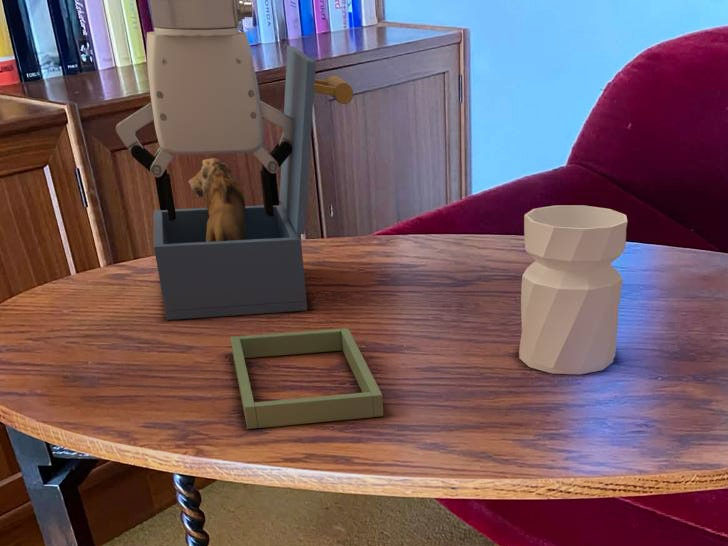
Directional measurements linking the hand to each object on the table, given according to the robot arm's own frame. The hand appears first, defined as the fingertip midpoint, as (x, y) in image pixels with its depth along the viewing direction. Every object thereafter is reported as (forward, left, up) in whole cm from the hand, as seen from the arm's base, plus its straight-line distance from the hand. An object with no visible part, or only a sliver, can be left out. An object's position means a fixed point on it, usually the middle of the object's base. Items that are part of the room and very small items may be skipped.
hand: (221, 215), depth 98 cm
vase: (+28, -27, -8) cm, 40 cm away
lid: (+8, 0, +7) cm, 11 cm away
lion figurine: (0, +3, -6) cm, 6 cm away
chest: (0, 0, -8) cm, 8 cm away
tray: (+4, -28, -8) cm, 29 cm away
